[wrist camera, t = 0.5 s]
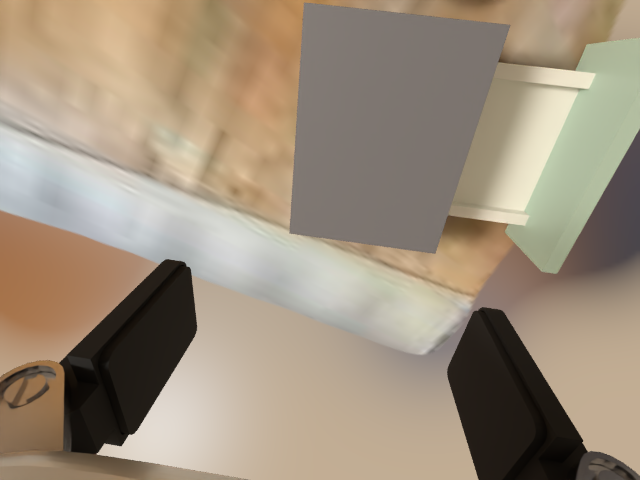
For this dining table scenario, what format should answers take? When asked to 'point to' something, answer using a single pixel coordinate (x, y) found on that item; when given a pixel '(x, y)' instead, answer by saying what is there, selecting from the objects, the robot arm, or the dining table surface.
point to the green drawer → (551, 147)
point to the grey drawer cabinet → (386, 122)
